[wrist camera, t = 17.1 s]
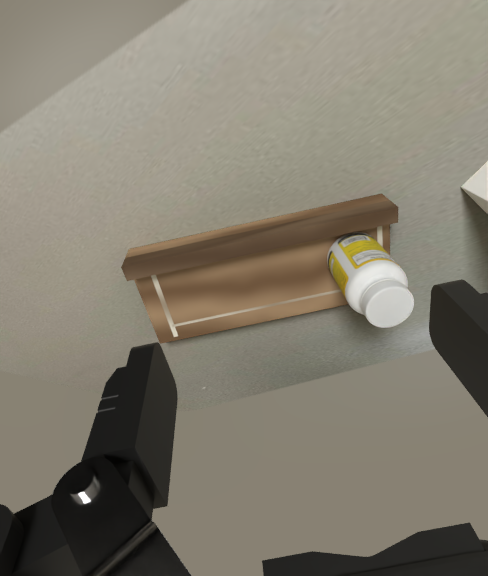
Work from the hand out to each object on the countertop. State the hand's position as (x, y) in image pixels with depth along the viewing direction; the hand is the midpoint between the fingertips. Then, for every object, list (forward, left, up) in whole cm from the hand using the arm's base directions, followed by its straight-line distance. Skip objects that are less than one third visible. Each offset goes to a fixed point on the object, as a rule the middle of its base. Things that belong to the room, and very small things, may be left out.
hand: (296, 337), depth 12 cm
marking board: (+13, 0, -28) cm, 31 cm away
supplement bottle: (+12, +9, -26) cm, 31 cm away
